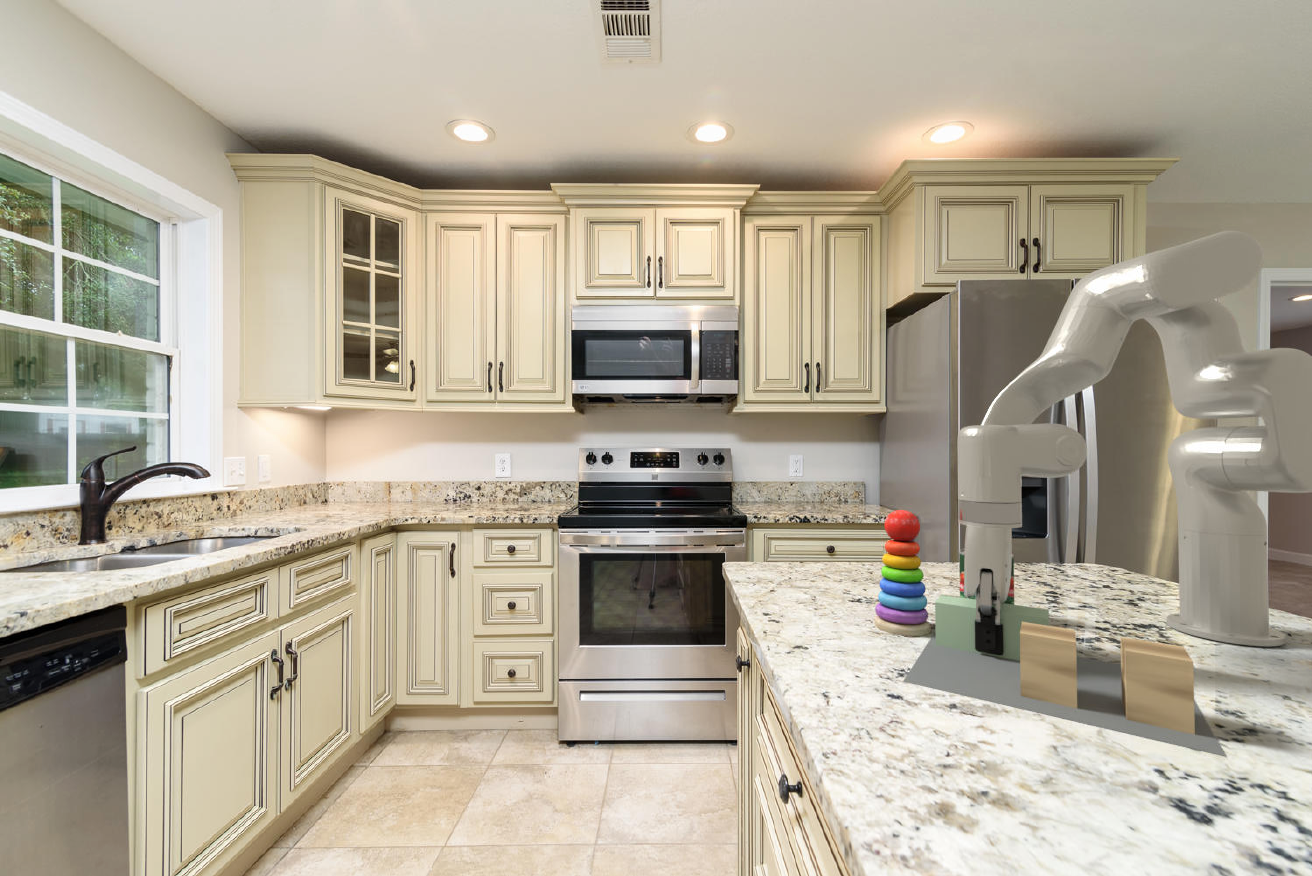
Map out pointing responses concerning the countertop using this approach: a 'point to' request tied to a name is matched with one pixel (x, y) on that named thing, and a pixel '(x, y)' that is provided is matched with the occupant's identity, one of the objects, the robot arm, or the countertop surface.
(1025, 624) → the pillar
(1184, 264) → the robot arm
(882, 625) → the stacking toy
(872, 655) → the countertop surface
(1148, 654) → the pillar
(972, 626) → the beam
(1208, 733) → the mat
